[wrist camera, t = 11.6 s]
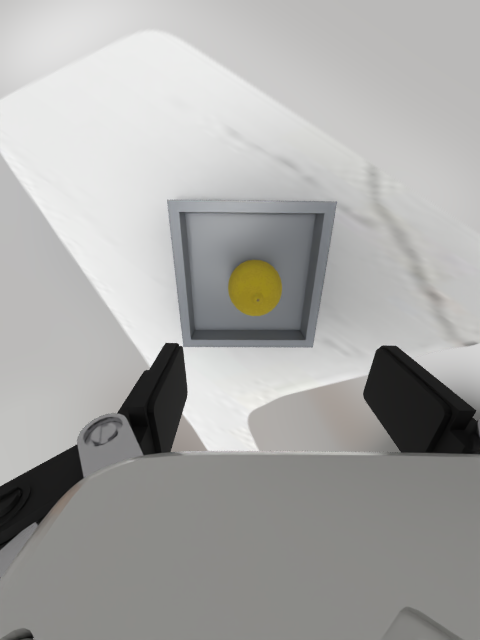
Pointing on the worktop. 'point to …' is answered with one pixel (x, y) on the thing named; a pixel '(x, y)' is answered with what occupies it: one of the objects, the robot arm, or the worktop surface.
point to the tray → (242, 245)
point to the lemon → (255, 287)
